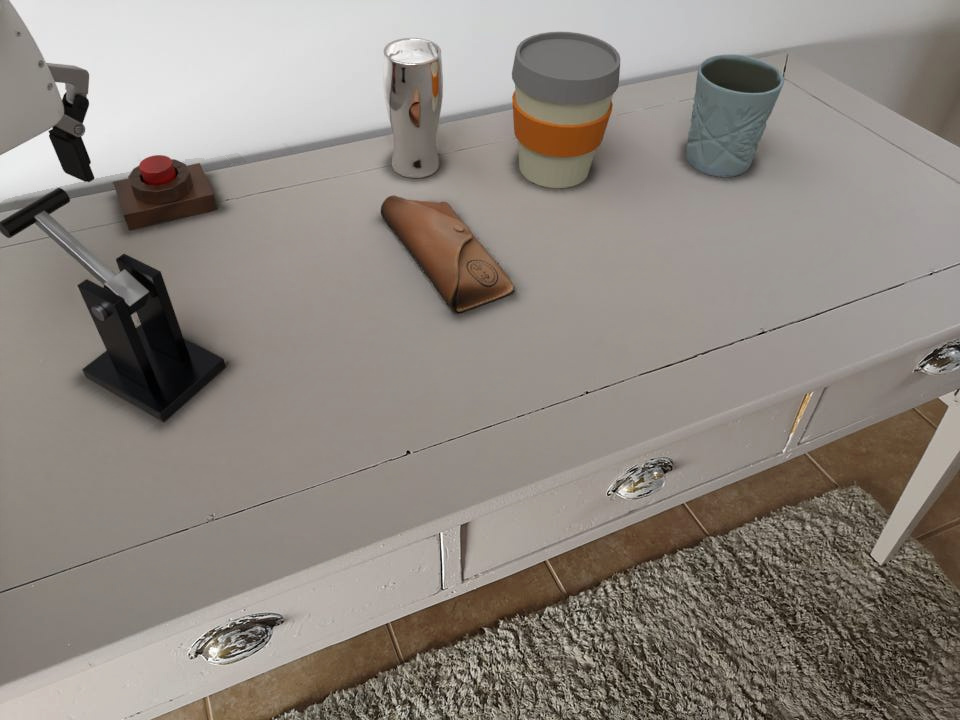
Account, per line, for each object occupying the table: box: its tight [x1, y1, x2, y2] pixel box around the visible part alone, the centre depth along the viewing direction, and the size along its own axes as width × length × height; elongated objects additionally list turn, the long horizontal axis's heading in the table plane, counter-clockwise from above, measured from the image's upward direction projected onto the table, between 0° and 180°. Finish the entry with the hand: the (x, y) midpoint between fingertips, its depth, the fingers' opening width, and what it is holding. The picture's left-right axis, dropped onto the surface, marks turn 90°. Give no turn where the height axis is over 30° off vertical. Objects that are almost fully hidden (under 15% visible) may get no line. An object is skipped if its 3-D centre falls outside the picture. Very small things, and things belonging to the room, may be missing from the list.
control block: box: [112, 158, 219, 231], centre depth 90 cm, size 10×7×4 cm
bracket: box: [77, 253, 227, 422], centre depth 69 cm, size 10×8×12 cm
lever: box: [0, 187, 149, 316], centre depth 66 cm, size 12×6×2 cm
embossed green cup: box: [685, 54, 785, 178], centre depth 98 cm, size 10×10×12 cm
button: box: [138, 154, 176, 185], centre depth 88 cm, size 4×4×2 cm
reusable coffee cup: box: [511, 31, 621, 189], centre depth 94 cm, size 13×12×15 cm
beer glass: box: [382, 37, 444, 179], centre depth 93 cm, size 7×7×15 cm
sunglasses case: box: [380, 194, 516, 313], centre depth 86 cm, size 18×7×7 cm
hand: (32, 204), depth 65 cm, fingers open, 9 cm apart
